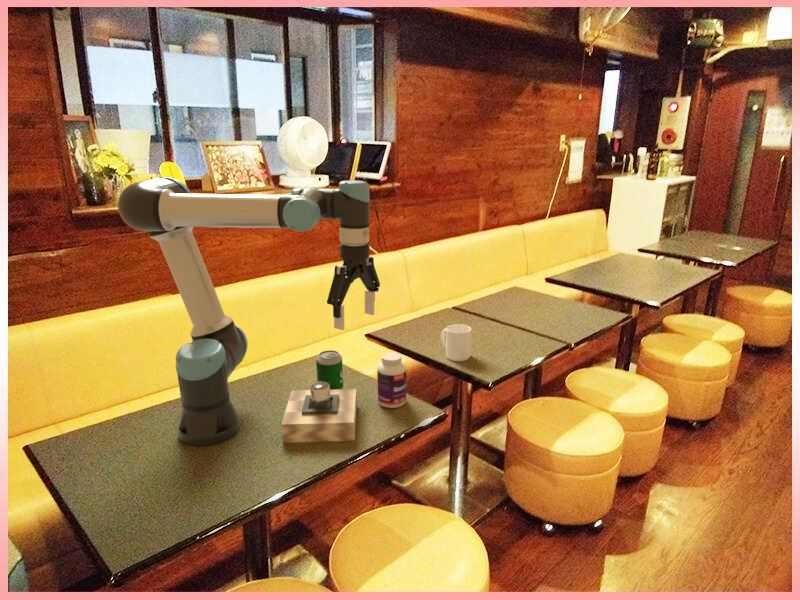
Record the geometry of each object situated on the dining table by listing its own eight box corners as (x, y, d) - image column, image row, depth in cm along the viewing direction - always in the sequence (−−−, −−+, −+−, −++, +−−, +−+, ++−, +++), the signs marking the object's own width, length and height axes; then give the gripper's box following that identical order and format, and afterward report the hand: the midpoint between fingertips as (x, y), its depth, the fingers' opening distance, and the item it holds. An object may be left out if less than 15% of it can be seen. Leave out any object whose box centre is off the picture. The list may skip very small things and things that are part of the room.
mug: (432, 353, 192) (433, 325, 189) (448, 347, 198) (449, 319, 194) (459, 364, 184) (460, 335, 181) (475, 356, 189) (476, 328, 186)
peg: (310, 410, 145) (309, 390, 143) (312, 400, 150) (311, 381, 148) (329, 409, 145) (328, 390, 144) (331, 400, 150) (330, 381, 148)
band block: (282, 442, 140) (281, 421, 139) (292, 407, 158) (291, 388, 156) (354, 440, 141) (353, 419, 139) (356, 405, 158) (356, 386, 156)
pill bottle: (396, 412, 154) (395, 364, 150) (372, 405, 158) (371, 358, 154) (411, 400, 161) (411, 354, 156) (388, 393, 165) (387, 348, 160)
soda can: (339, 398, 162) (337, 360, 158) (314, 396, 164) (312, 358, 160) (346, 386, 169) (345, 350, 165) (322, 384, 171) (320, 348, 167)
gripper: (336, 254, 131) (337, 338, 137) (393, 236, 151) (392, 310, 157) (311, 249, 134) (313, 332, 141) (370, 233, 154) (370, 305, 161)
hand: (354, 321), depth 149 cm, fingers open, 13 cm apart
